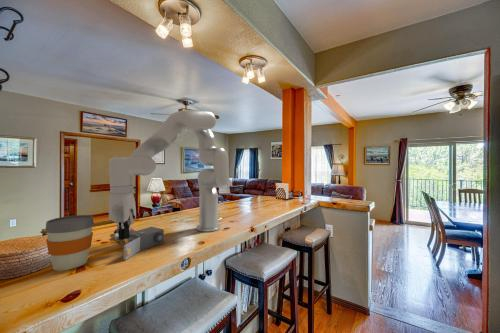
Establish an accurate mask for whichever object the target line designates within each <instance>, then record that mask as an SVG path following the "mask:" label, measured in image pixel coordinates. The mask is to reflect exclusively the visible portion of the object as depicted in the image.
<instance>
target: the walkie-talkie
mask: <svg viewBox="0 0 500 333" xmlns="http://www.w3.org/2000/svg"><path fill="white" fill-rule="evenodd" d="M134 231H136V230H135V229H133V227H131V226H130V227H129V233H131V232H134ZM113 233H114V234H113V239H114V240H115V241H116V242H118V241H117V240H119V241H120V243H122V244H124V245H126V244H127V243H126V241H125V240H128V238H127V239H124V240H120V239H119V233H118V228H117V227H116V228H115V229H114V231H113Z"/></svg>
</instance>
